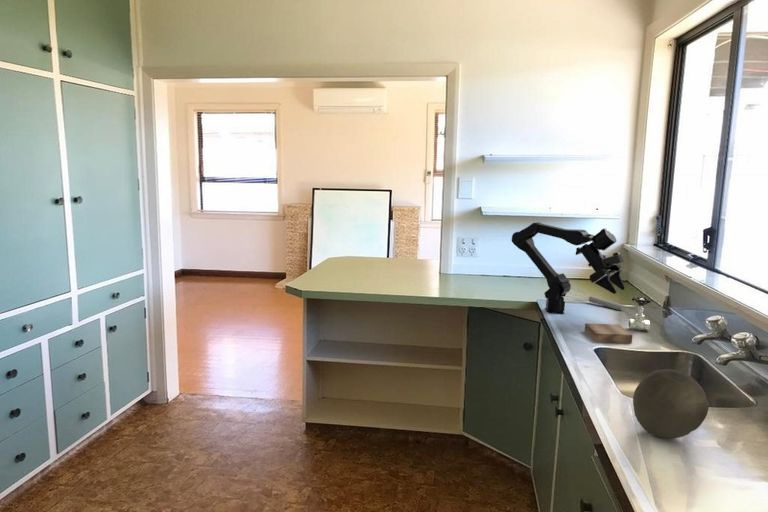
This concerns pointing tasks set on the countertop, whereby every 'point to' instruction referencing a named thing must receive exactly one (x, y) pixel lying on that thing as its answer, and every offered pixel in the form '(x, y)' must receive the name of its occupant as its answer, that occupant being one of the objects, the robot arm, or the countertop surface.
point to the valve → (640, 315)
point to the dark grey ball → (669, 404)
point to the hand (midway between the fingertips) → (619, 291)
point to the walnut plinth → (608, 333)
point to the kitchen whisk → (601, 302)
